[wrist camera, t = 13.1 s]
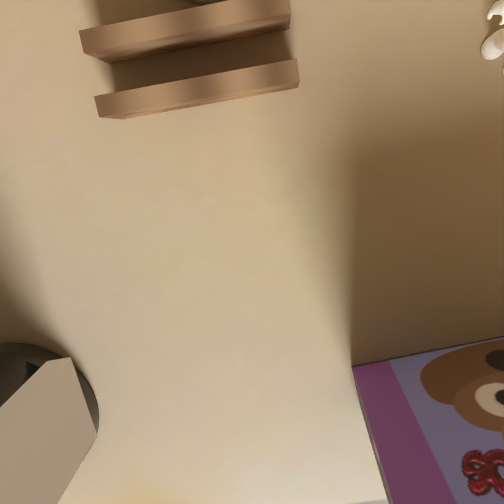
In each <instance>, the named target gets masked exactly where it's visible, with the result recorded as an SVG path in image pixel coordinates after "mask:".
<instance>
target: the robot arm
mask: <svg viewBox="0 0 504 504" xmlns="http://www.w3.org/2000/svg"><path fill="white" fill-rule="evenodd" d="M98 426H99V413H98V407H97V403H96V400H95V397H94V394H93V392H92V390H91V388H90V386H89V385H88V383H87V382H86V380H85V379H84V377H83V376H82V375H81V374H80V373H79V372H78V371H77V370H76V369H75V368H74V366H73V363H72V360H71V357H67V358H62V357H60V356H58V355H57V354H55V353H53V352H51V351H49V350H46V349H44V348H41V347H37V346H33V345H29V344H21V343H8V344H1V345H0V504H57V503H58V501H59V500H60V498H61V496H62V495H63V493H64V491H65V490H66V488H67V486H68V484H69V483H70V481H71V479H72V478H73V476H74V474H75V473H76V471H77V469H78V468H79V466H80V464H81V462H82V461H83V460H84V458H85V456H86V455H87V453H88V451H89V450H90V448H91V446H92V445H93V443H94V441H95V439H96V437H97V432H98Z"/></svg>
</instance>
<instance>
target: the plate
mask: <svg viewBox="0 0 504 504" xmlns="http://www.w3.org/2000/svg"><path fill="white" fill-rule="evenodd" d="M193 1H196V2H202V3H218V2H223V1H228V0H193Z"/></svg>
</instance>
